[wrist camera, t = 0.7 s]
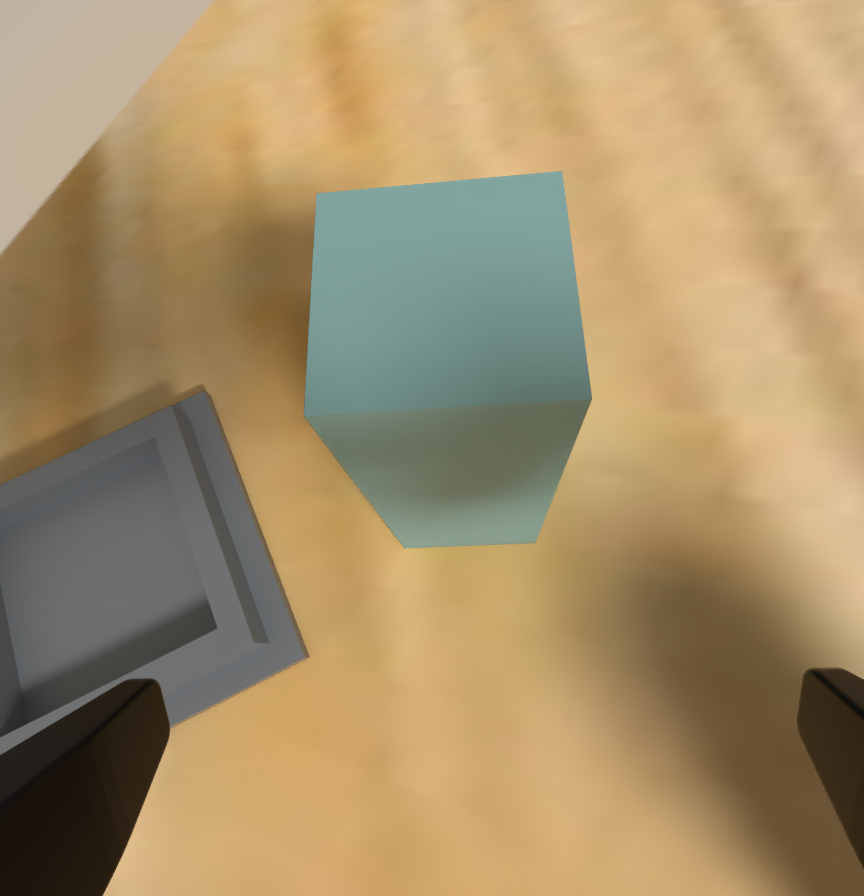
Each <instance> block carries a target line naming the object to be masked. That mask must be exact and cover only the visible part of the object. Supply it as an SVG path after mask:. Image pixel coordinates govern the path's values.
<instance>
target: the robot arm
mask: <svg viewBox="0 0 864 896" xmlns="http://www.w3.org/2000/svg"><path fill="white" fill-rule="evenodd" d="M797 724H798V730H799V733H800V736H801V739H802V741H803V743H804V745H805V747H806V750H807V752H808V754H809V756H810V758H811V760H812V762H813V764H814V767H815V769H816V771H817V773H818V775H819V777H820V779H821V782H822V784H823V786H824V788H825V790H826V792H827V794H828V797H829V799H830V801H831V803H832V805H833V807H834V809H835V812H836V814H837V816H838V818H839V820H840V822H841V824H842V826H843V829H844V831H845V833H846V835H847V837H848V839H849V841H850V843H851V845H852V847H853V849H854V851H855V853H856V855H857V857H858V859H859V861H860V863H861V865H862V866H863V868H864V680H863V679H862V678H860V677H858V676H856V675H854V674H852V673H850V672H848V671H846V670H844V669H841V668H810V669H808V670H807V671H806V672H805V674H804V676H803V681H802V688H801V694H800V701H799V708H798V715H797ZM169 734H170V722H169V718H168V714H167V710H166V706H165V702H164V698H163V694H162V690H161V687H160V684H159V683H158V681H157V680H155V679H152V678H136V679H127V680H125V681H123V682H121V683H119V684H118V685H116V686H114V687H113V688H111V689H109V690H108V691H106V692H104V693H103V694H101V695H99V696H98V697H96V698H94V699H93V700H91V701H89V702H88V703H86V704H84V705H83V706H81V707H79V708H78V709H76V710H74V711H73V712H71V713H69V714H68V715H66V716H64V717H63V718H61V719H59V720H58V721H56V722H54V723H52V724H51V725H49V726H47V727H46V728H44V729H42V730H41V731H39V732H37V733H36V734H34V735H32V736H31V737H29V738H27V739H26V740H24V741H22V742H21V743H19V744H17V745H16V746H14V747H12V748H11V749H9V750H7V751H6V752H4V753H2V754H1V755H0V896H103V894H104V892H105V890H106V888H107V886H108V884H109V882H110V880H111V878H112V876H113V874H114V872H115V870H116V868H117V865H118V863H119V861H120V859H121V857H122V855H123V853H124V851H125V848H126V846H127V844H128V841H129V839H130V837H131V834H132V832H133V829H134V827H135V824H136V822H137V819H138V816H139V814H140V811H141V809H142V806H143V804H144V801H145V799H146V796H147V794H148V791H149V788H150V786H151V783H152V781H153V778H154V776H155V773H156V771H157V768H158V766H159V763H160V761H161V758H162V755H163V753H164V750H165V748H166V745H167V742H168V739H169Z"/></svg>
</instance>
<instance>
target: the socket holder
mask: <svg viewBox="0 0 864 896" xmlns="http://www.w3.org/2000/svg"><path fill="white" fill-rule="evenodd" d="M307 658H309V655H308V652H307V649H306V647H305V644H304V642H303V639H302V636H301V634H300V631H299V628H298V626H297V623H296V620H295V618H294V615H293V613H292V610H291V607H290V605H289V602H288V599H287V597H286V594H285V591H284V589H283V586H282V584H281V581H280V578H279V576H278V573H277V570H276V568H275V565H274V562H273V560H272V557H271V555H270V552H269V549H268V547H267V544H266V541H265V539H264V536H263V533H262V531H261V528H260V526H259V523H258V520H257V518H256V515H255V512H254V510H253V507H252V504H251V502H250V499H249V497H248V494H247V491H246V489H245V486H244V483H243V481H242V478H241V475H240V473H239V470H238V468H237V465H236V462H235V460H234V457H233V454H232V452H231V449H230V446H229V444H228V441H227V439H226V436H225V433H224V431H223V428H222V425H221V423H220V420H219V417H218V415H217V412H216V410H215V407H214V404H213V402H212V399H211V396H210V395H208V394H207V393H206V392H205V391H202V392H200V393H198V394H196V395H194V396H192V397H189V398H187V399H185V400H183V401H181V402H179V403H177V404H174V405H170V406H168V407H166V408H164V409H162V410H160V411H157V412H155V413H153V414H151V415H149V416H147V417H145V418H142V419H140V420H138V421H136V422H134V423H132V424H130V425H127V426H125V427H123V428H121V429H119V430H117V431H115V432H113V433H110V434H108V435H106V436H104V437H102V438H100V439H98V440H95V441H93V442H91V443H89V444H87V445H85V446H83V447H80V448H78V449H76V450H74V451H72V452H70V453H68V454H66V455H63V456H61V457H59V458H57V459H55V460H53V461H51V462H48V463H46V464H44V465H42V466H40V467H38V468H36V469H33V470H31V471H29V472H27V473H25V474H23V475H21V476H19V477H16V478H14V479H12V480H10V481H8V482H6V483H4V484H1V485H0V755H1V754H2V753H4V752H6V751H7V750H9V749H11V748H12V747H14V746H16V745H17V744H19V743H21V742H22V741H24V740H26V739H27V738H29V737H31V736H32V735H34V734H36V733H37V732H39V731H41V730H42V729H44V728H46V727H47V726H49V725H51V724H52V723H54V722H56V721H58V720H59V719H61V718H63V717H64V716H66V715H68V714H69V713H71V712H73V711H74V710H76V709H78V708H79V707H81V706H83V705H84V704H86V703H88V702H89V701H91V700H93V699H94V698H96V697H98V696H99V695H101V694H103V693H104V692H106V691H108V690H109V689H111V688H113V687H114V686H116V685H118V684H119V683H121V682H123V681H125V680H127V679H136V678H152V679H155V680H157V681H158V683H159V684H160V687H161V690H162V694H163V698H164V702H165V706H166V710H167V714H168V718H169V722H170V728H172V727H174V726H176V725H178V724H180V723H182V722H184V721H186V720H188V719H190V718H192V717H194V716H196V715H198V714H200V713H202V712H203V711H205V710H207V709H209V708H211V707H213V706H215V705H217V704H219V703H221V702H223V701H225V700H227V699H229V698H231V697H233V696H235V695H237V694H239V693H241V692H243V691H244V690H246V689H248V688H250V687H252V686H254V685H256V684H258V683H260V682H262V681H264V680H266V679H268V678H270V677H272V676H274V675H276V674H278V673H280V672H282V671H284V670H286V669H287V668H289V667H291V666H293V665H295V664H297V663H299V662H301V661H303V660H305V659H307Z"/></svg>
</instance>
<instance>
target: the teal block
mask: <svg viewBox="0 0 864 896" xmlns="http://www.w3.org/2000/svg"><path fill="white" fill-rule="evenodd" d="M591 400H592V395H591V387H590V380H589V372H588V365H587V357H586V349H585V342H584V334H583V327H582V319H581V311H580V304H579V296H578V289H577V281H576V273H575V266H574V258H573V250H572V243H571V235H570V228H569V220H568V212H567V205H566V197H565V190H564V182H563V174H562V171H558V172H547V173H536V174H525V175H514V176H503V177H492V178H481V179H470V180H459V181H448V182H437V183H426V184H415V185H404V186H393V187H382V188H371V189H360V190H349V191H338V192H327V193H317V195H316V212H315V230H314V247H313V265H312V282H311V300H310V317H309V335H308V352H307V369H306V387H305V404H304V417H305V418H306V420H307V421H308V422H309V424H310V425H311V426H312V428H313V429H314V430H315V431H316V433H317V434H318V435H319V437H320V438H321V439H322V441H323V442H324V443H325V445H326V446H327V447H328V449H329V450H330V451H331V452H332V454H333V455H334V456H335V458H336V459H337V460H338V462H339V463H340V464H341V466H342V467H343V468H344V469H345V471H346V472H347V473H348V475H349V476H350V477H351V479H352V480H353V481H354V483H355V484H356V485H357V487H358V488H359V489H360V490H361V492H362V493H363V494H364V496H365V497H366V498H367V500H368V501H369V502H370V504H371V505H372V506H373V507H374V509H375V510H376V511H377V513H378V514H379V515H380V517H381V518H382V519H383V521H384V522H385V523H386V525H387V526H388V527H389V528H390V530H391V531H392V532H393V534H394V535H395V536H396V538H397V539H398V540H399V542H400V543H401V544H402V545H403V547H404V548H425V547H450V546H474V545H499V544H523V543H535V542H536V540H537V537H538V535H539V532H540V529H541V527H542V524H543V522H544V519H545V517H546V514H547V512H548V509H549V507H550V504H551V502H552V499H553V497H554V494H555V491H556V489H557V486H558V484H559V481H560V479H561V476H562V474H563V471H564V469H565V466H566V464H567V461H568V458H569V456H570V453H571V451H572V448H573V446H574V443H575V441H576V438H577V436H578V433H579V431H580V428H581V426H582V423H583V420H584V418H585V415H586V413H587V410H588V408H589V405H590V403H591Z"/></svg>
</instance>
